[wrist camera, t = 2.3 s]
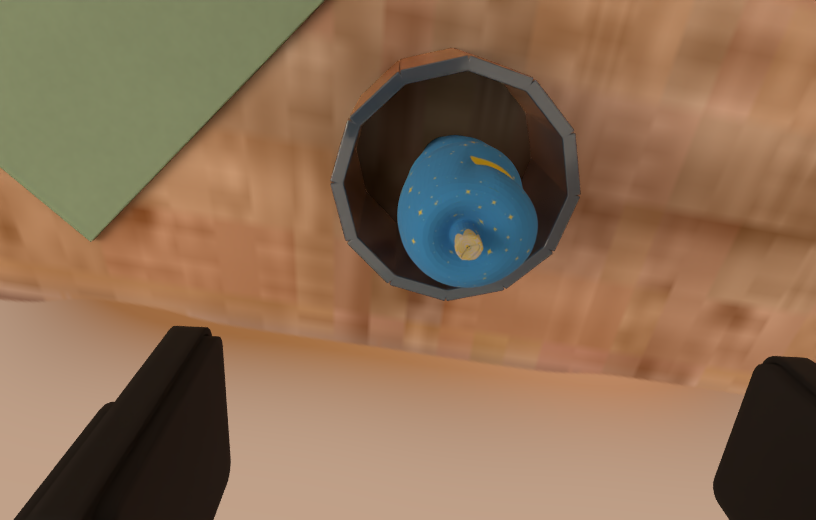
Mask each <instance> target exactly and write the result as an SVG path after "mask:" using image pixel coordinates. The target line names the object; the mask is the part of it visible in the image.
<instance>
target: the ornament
mask: <svg viewBox="0 0 816 520" xmlns="http://www.w3.org/2000/svg"><path fill="white" fill-rule="evenodd" d="M397 220H398V228H399V233H400V236H401V240H402V243H403V245H404V248H405V250H406V252H407V253H408V255H409V256H410V258H411V259H412V261H413V262H414V263H415V264H416V265H417V266H418V268H420V269H421V270H422V271H423V272H424V273H425V274H426V275H428V276H429V277H431V278H432V279H434V280H436V281H438V282H441V283H443V284H446V285H450V286H454V287H462V288H473V287H481V286H485V285H488V284H492V283H494V282H496V281H498V280H501V279H503V278H504V277H506V276H508V275H510V274H511V273H512V272H514V271H515V270H516V269H517V268H519V267H520V266H521V265H522V264H523V263H524V261H525V260H526V259H527V258H528V256H529V255H530V253H531V251H532V249H533V246H534V244H535V240H536V236H537V229H538V220H537V214H536V211H535V208H534V206H533V204H532V202H531V200H530V198H529V197H528V195H527V194H526V192H525V191H524V190H523V187H522V182H521V179H520V176H519V173H518V171H517V169H516V168H515V166H514V164H513V163H512V162H511V161H510V160H509V158H508V157H507V156H505V155H504V154H503V153H502V152H500V151H499V150H497V149H495V148H493V147H491V146H489V145H487V144H486V143H484V142H482V141H481V140H478V139H476V138H472V137H465V136H460V135H448V136H442V137H438V138H436V139H434V140H432V141H431V142H430V143H429V144H428V145H427V146H426V147H425V149H424V151H423V152H422V154H421V155H420V156H419V157H418V158H417V159H416V161H415V162H414V164H413V166H412V167H411V169H410V171H409V174H408V177H407V179H406V181H405V183H404V186H403V188H402V191H401V195H400V199H399V203H398V210H397Z"/></svg>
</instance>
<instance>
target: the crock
mask: <svg viewBox="0 0 816 520" xmlns="http://www.w3.org/2000/svg"><path fill="white" fill-rule="evenodd" d="M465 71H469V72H472V73H475V74H478V75H481V76H483V77H486V78H489V79H492V80H495V81H498V82H500V83H503V84H504V86H505V87H506V88H507V90H508V91H509V92H510V93H511V95H512V96H513V97H514V98H515V100H516V101H517V102H518V104H519V105H520V106H521V107H522V109H523V110H524V111H525V112H526V121H527V129H528V138H529V146H530V154H531V159H530V161H529V164H528V166H527V168H526V171H525V173H524V176H523V178H522V180H521V182H522V187H523V190H524V191H525V192H526V194H527V195H528V197H529V198H530V200H531V202H532V204H533V206H534V208H535V211H536V214H537V220H538V229H537V236H536V240H535V244H534V246H533V249H532V251H531V253H530V255H529V256H528V258H527V259H526V260H525V261H524V263H523V264H522V265H521V266H520V267H519V268H517V269H516V270H515V271H514V272H512V273H511V274H510V275H508V276H506V277H504V278H503V279H501V280H498V281H496V282H494V283H492V284H488V285H485V286H481V287H473V288H462V287H454V286H450V285H446V284H443V283H441V282H438V281H436V280H434V279H432V278H431V277H429V276H428V275H426V274H425V273H424V272H423V271H422V270H421V269H420V268H418V266H417V265H416V264H415V263H414V262H413V261H412V259H411V258H410V256H409V255H408V253H407V252H406V250H405V248H404V245H403V243H402V240H401V236H400V233H399V228H398V223H396V222H395V221H394V220H393V219H392V218H391V217H390V216H389V215H388V214H387V212H386V211H385V210H384V209H383V208H382V207H381V206H380V205H379V204H378V203H377V202H376V201H375V200H374V199H373V198H372V197H371V196H370V195H369V194H368V193H367V191H366V187H365V183H364V179H363V175H362V171H361V167H360V163H359V159H358V155H357V150H356V146H357V143H358V140H359V136H360V133H361V129H362V126H363V124H364V123H365V122H366V121H367V120H368V119H369V118H370V117H371V116H372V115H373V114H375V113H376V112H377V111H378V110H379V109H380V108H381V107H382V106H383V105H384V104H385V103H386V102H387V101H388V100H390V99H391V98H392V97H393V96H394V95H395V94H396V93H397V92H398V91H399V90H400V89H401V88H402V87H403V86H405V85H406V84H410V83H414V82H419V81H424V80H428V79H433V78H437V77H442V76H447V75H451V74H456V73H460V72H465ZM331 189H332V193H333V196H334V200H335V204H336V207H337V211H338V215H339V218H340V222H341V226H342V230H343V233H344V237H345V240H346V241H348V242H347V243H348V245H349V246H350V247H351V248H352V249H353V250H354V251H355V252H356V253H357V254H358V255H359V256H360V257H361V258H362V259H363V260H364V261H365V262H366V263H367V264H368V265H369V266H370V267H371V268H372V269H373V270H374V271H375V272H376V273H377V274H378V275H379V276H381V277H382V278H383V279H384V280H385V281H386V282H387V283H389V282H390V285H392V286H395V287H399V288H402V289H406V290H409V291H412V292H416V293H419V294H423V295H426V296H430V297H433V298H437V299H440V300H443V301H444V300H445V299H446V300H447V301H450V300H455V299H460V298H465V297H471V296H476V295H481V294H487V293H492V292H497V291H502V290H504V288H506V289H507V288H508V287H509V286H511V285H512V284H513V283H515V282H516V281H517V280H519V279H520V278H521V277H523V276H524V275H525V274H526V273H528V272H529V271H530V270H532V269H533V268H534V267H536V266H537V265H538V264H540V263H541V262H542V261H544V260H545V259H546V258H548V257H549V256H550V255H551V254H552V251H555V249H556V247H557V245H558V243H559V241H560V239H561V237H562V234H563V232H564V230H565V228H566V226H567V224H568V222H569V220H570V217H571V215H572V213H573V211H574V209H575V207H576V205H577V202H578V200H579V198H580V197H579V196H578V195H580V194H581V191H580V179H579V168H578V156H577V144H576V134H575V133H574V129H573V128H572V126H571V125H570V124H569V122H568V121H567V120H566V118H565V117H564V116H563V114H562V113H561V112H560V110H559V109H558V108H557V107H556V105H555V104H554V103H553V101H552V100H551V99H550V97H549V96H548V95H547V93H546V92H545V91H544V89H543V88H542V87H541V86H540V84H539V83H538V82H537V80H535V79H533V77H530V76H528V75H525V74H523V73H520V72H518V71H516V70H513V69H511V68H508V67H506V66H503V65H501V64H498V63H495V62H492V61H489V60H487V59H484V58H481V57H478V56H475V55H473V54H470V53H467V52H464V51H461V50H459V49H456V48H448V49H443V50H439V51H434V52H430V53H425V54H421V55H416V56H412V57H407V58H403V59H400V61H397V62H396V63H395V64H394V65H393V66H391V67H390V68H389V69H388V70H387V71H386V72H385V73H384V74H383V75H382V76H381V77H380V78H379V79H378V80H377V81H376V82H375V83H374V84H373V85H372V86H370V87H369V88H368V89H367V90H366V91H365V92H364V93H363V94H362V95H361V96H360V98H359V100H358V102H357V103H356V105H355V107H354V109H353V111H352V113H351V115H350V117H349V118H348V120H347V123H346V126H345V130H344V134H343V137H342V141H341V144H340V148H339V151H338V155H337V158H336V162H335V165H334V169H333V172H332V176H331Z"/></svg>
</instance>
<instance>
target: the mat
mask: <svg viewBox="0 0 816 520" xmlns="http://www.w3.org/2000/svg"><path fill="white" fill-rule="evenodd" d="M324 1H325V0H0V168H2V169H3V170H4V171H5V172H7V173H8V174H9V175H10V176H11V177H13V178H14V179H15V180H16V181H17V182H19V183H20V184H21V185H22V186H24V187H25V188H26V189H27V190H28V191H30V192H31V193H32V194H33V195H34V196H36V197H37V198H38V199H39V200H40V201H42V202H43V203H44V204H45V205H47V206H48V207H49V208H50V209H51V210H53V211H54V212H55V213H56V214H57V215H59V216H60V217H61V218H62V219H64V220H65V221H66V222H67V223H68V224H70V225H71V226H72V227H73V228H74V229H76V230H77V231H78V232H79V233H80V234H82V235H83V236H84V237H85V238H87V239H88V240H89V241H90V242H91V241H93V240H94V239H95V238H96V237H97V236H98V235H99V234H100V233H101V232H102V231H103V230H104V229H105V228H106V227H107V226H108V225H109V224H110V223H111V221H112V220H113V219H114V218H115V217H116V216H117V215H118V214H119V213H120V212H121V211H122V210H123V209H124V208H125V207H126V206H127V205H128V204H129V203H130V202H131V201H132V200H133V199H134V198H135V197H136V196H137V195H138V194H139V192H140V191H141V190H142V189H143V188H144V187H145V186H146V185H147V184H148V183H149V182H150V181H151V180H152V179H153V178H154V177H155V176H156V175H157V174H158V173H159V172H160V171H161V170H162V169H163V168H164V167H165V166H166V165H167V163H168V162H169V161H170V160H171V159H172V158H173V157H174V156H175V155H176V154H177V153H178V152H179V151H180V150H181V149H182V148H183V147H184V146H185V145H186V144H187V143H188V142H189V141H190V140H191V139H192V138H193V137H194V136H195V134H196V133H197V132H198V131H199V130H200V129H201V128H202V127H203V126H204V125H205V124H206V123H207V122H208V121H209V120H210V119H211V118H212V117H213V116H214V115H215V114H216V113H217V112H218V111H219V110H220V109H221V108H222V107H223V105H224V104H225V103H226V102H227V101H228V100H229V99H230V98H231V97H232V96H233V95H234V94H235V93H236V92H237V91H238V90H239V89H240V88H241V87H242V86H243V85H244V84H245V83H246V82H247V81H248V80H249V79H250V78H251V76H252V75H253V74H254V73H255V72H256V71H257V70H258V69H259V68H260V67H261V66H262V65H263V64H264V63H265V62H266V61H267V60H268V59H269V58H270V57H271V56H272V55H273V54H274V53H275V52H276V51H277V50H278V49H279V48H280V46H281V45H282V44H283V43H284V42H285V41H286V40H287V39H288V38H289V37H290V36H291V35H292V34H293V33H294V32H295V31H296V30H297V29H298V28H299V27H300V26H301V25H302V24H303V23H304V22H305V21H306V20H307V19H308V17H309V16H310V15H311V14H312V13H313V12H314V11H315V10H316V9H317V8H318V7H319V6H320V5H321V4H322V3H323V2H324Z"/></svg>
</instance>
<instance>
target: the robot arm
mask: <svg viewBox="0 0 816 520" xmlns="http://www.w3.org/2000/svg"><path fill="white" fill-rule="evenodd" d="M230 463H231V461H230V444H229V431H228V416H227V402H226V387H225V373H224V358H223V345H222V340H221V338H220V337H217V336H212V334H211V331H210V329H209V328H208V327H186V326H173V327H172V328H171V329H170V330H169V331H168V332H167V334H166V335H165V336H164V338H163V339H162V340H161V342H160V343H159V344H158V345H157V347H156V348H155V349H154V351H153V352H152V353H151V355H150V356H149V357H148V359H147V360H146V361H145V363H144V364H143V365H142V367H141V368H140V369H139V371H138V372H137V373H136V374H135V376H134V377H133V378H132V380H131V381H130V382H129V384H128V385H127V386H126V388H125V389H124V390H123V392H122V393H121V394H120V396H119V397H118V398H117V400H116V401H115V402H110V403H107V404H105V405H104V406H103V407H102V408H101V409H100V410H99V411H98V412H97V414H96V415H95V416H94V418H93V419H92V420H91V422H90V423H89V424H88V425H87V427H86V428H85V429H84V430H83V432H82V433H81V434H80V435H79V437H78V438H77V439H76V441H75V442H74V443H73V444H72V446H71V447H70V448H69V449H68V451H67V452H66V454H65V455H64V456H63V457H62V458H61V460H60V461H59V462H58V464H57V465H56V466H55V467H54V469H53V470H52V471H51V472H50V474H49V475H48V476H47V478H46V479H45V480H44V481H43V483H42V484H41V485H40V487H39V488H38V489H37V490H36V492H35V493H34V494H33V495H32V497H31V498H30V499H29V501H28V502H27V503H26V504H25V506H24V507H23V508H22V510H21V511H20V512H19V513H18V515H17V516H16V517H15V518H14V520H213V519H214V517H215V514H216V511H217V509H218V506H219V503H220V501H221V498H222V495H223V493H224V490H225V487H226V485H227V482H228V478H229V473H230ZM713 490H714V495H715V498H716V500H717V502H718V503H719V505H720V507H721V508H722V509H723V511H724V512H725V514H726V515H727V517H728V518H729V520H816V363H814V362H813V361H811V360H810V359H808V358H800V357H781V356H772V357H769V358H767V359H766V360H765V361H764V362H763V364H760V365H758V366H757V367H756V368H755V370H754V371H753V374H752V377H751V379H750V382H749V385H748V388H747V390H746V393H745V396H744V399H743V401H742V404H741V407H740V410H739V412H738V415H737V418H736V420H735V423H734V426H733V429H732V432H731V434H730V437H729V439H728V442H727V445H726V448H725V451H724V453H723V456H722V459H721V461H720V464H719V467H718V470H717V472H716V475H715V478H714V482H713Z"/></svg>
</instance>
